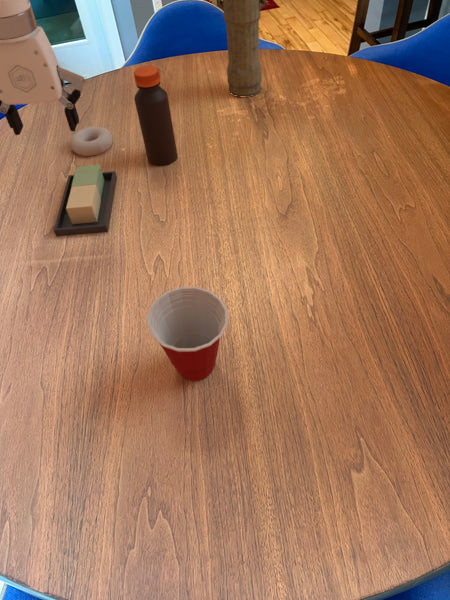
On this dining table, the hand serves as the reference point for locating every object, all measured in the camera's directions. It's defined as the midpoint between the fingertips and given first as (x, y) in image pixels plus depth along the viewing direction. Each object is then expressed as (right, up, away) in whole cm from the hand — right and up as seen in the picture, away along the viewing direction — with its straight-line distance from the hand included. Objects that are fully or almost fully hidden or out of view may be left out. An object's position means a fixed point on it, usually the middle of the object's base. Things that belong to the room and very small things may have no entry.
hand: (47, 129), depth 84 cm
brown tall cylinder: (+37, +26, +44) cm, 63 cm away
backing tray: (+3, -11, +15) cm, 19 cm away
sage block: (+3, -7, +18) cm, 19 cm away
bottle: (+17, +2, +25) cm, 30 cm away
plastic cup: (+27, -40, -12) cm, 50 cm away
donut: (0, +6, +30) cm, 31 cm away
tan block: (+3, -12, +13) cm, 18 cm away
